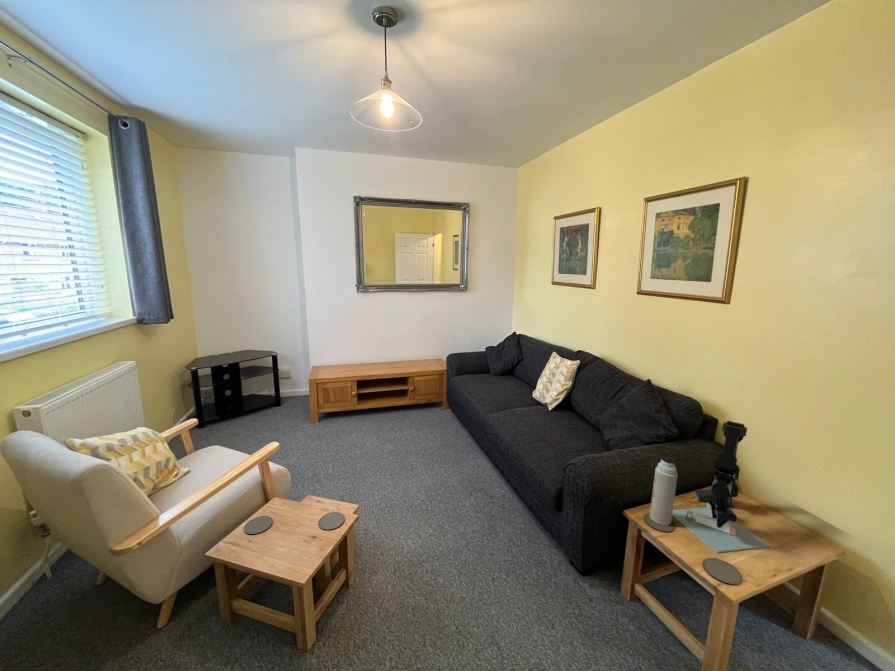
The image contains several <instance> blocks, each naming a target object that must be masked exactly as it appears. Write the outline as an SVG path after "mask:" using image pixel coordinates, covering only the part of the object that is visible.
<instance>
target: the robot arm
mask: <svg viewBox="0 0 895 671" xmlns="http://www.w3.org/2000/svg"><path fill="white" fill-rule="evenodd" d="M721 431H722V432H723V436H724V438H725V439H724V444H723V448H722V451H721V452H719V453H718V454H717V457H716V458H714V461H713V464H712V471H711V475H712V476H714V478H713V482H712V485H711V486H710V488H709V489H696V490H694V491H695V492H694V493H695V496H696V499H697V501H698V503H701V504H707V503H709V504H710V506H711V511H712V518H715V519H717V527H718V528H721V527H722V526H723V525H724V524H725V523H726V522H727V521H733V522H736V523H738V522H737V521H738V516H737V515H736V513H735V512H734V510H733V508H732V507H735V506H734V504H732V503H733V499H734V498H736V497H739V492H740V487H739V486H738V484H737V480H739V475H740V472H741V471H740V470H741V468H740V466H739V465H738V464H737V463H738V458H737V451H738V446H739V443H740V442H741V441H742V440H744V437H746V436H747V432H748V427H746V426H745V424H744V423H741V422H735V421H731V420H727V421H726V422H724V421H723V422H722V428H721ZM715 470H716V471H715Z"/></svg>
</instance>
